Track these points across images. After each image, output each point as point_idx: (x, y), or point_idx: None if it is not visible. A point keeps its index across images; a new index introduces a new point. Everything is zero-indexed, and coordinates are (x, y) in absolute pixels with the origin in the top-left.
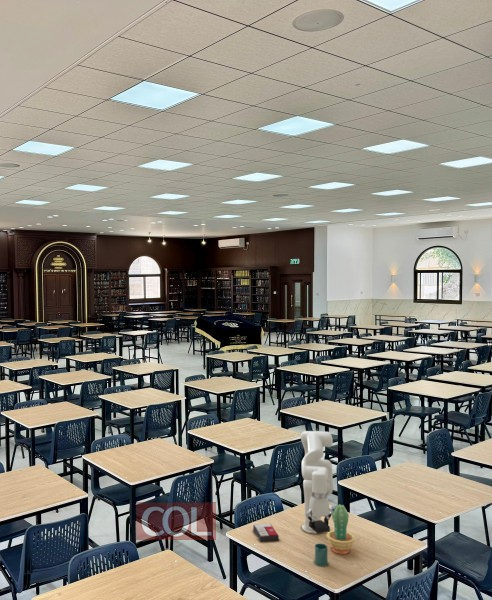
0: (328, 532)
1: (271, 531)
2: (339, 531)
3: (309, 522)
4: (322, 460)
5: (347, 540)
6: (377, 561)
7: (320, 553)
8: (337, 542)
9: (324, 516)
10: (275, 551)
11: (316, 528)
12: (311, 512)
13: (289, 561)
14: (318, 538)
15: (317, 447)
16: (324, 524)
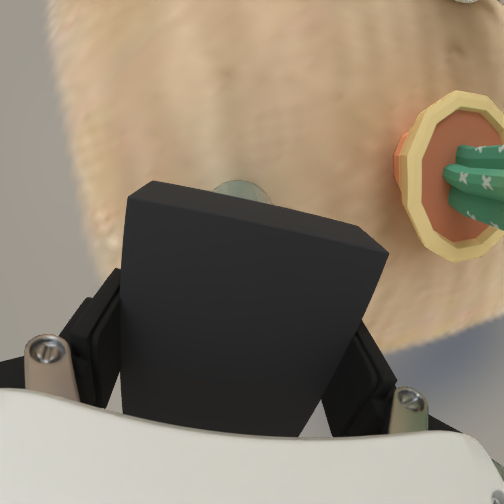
0: (457, 96)
1: None
2: (483, 205)
3: (128, 213)
4: None
5: (468, 225)
6: (447, 312)
7: None
8: (411, 218)
9: (388, 417)
10: (102, 8)
11: (123, 397)
12: (29, 459)
13: (93, 124)
14: (419, 17)
15: None
16: (294, 389)
